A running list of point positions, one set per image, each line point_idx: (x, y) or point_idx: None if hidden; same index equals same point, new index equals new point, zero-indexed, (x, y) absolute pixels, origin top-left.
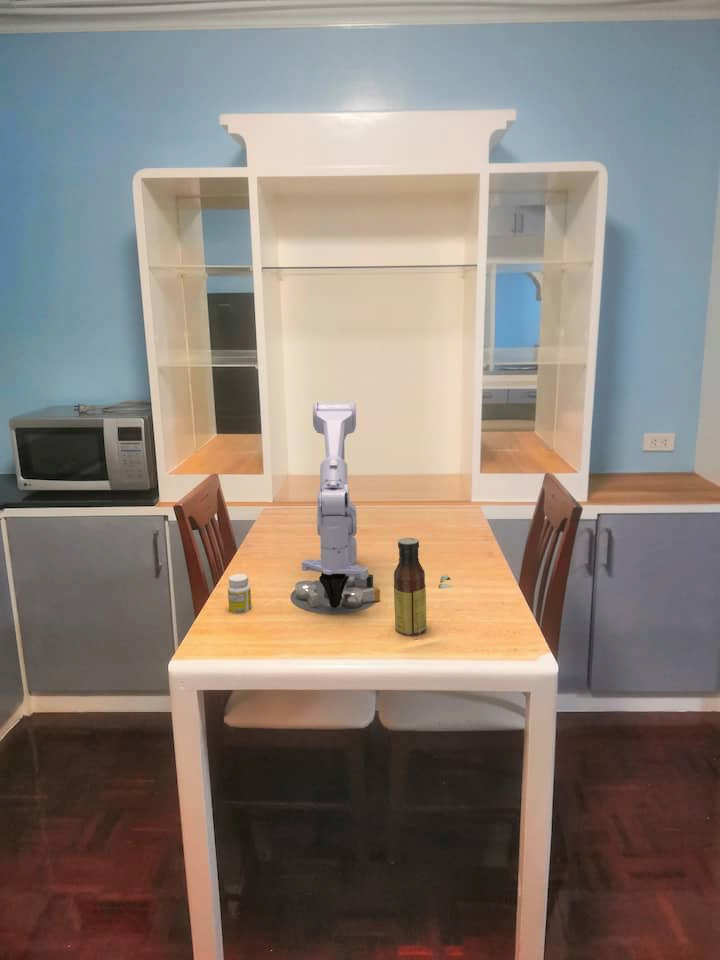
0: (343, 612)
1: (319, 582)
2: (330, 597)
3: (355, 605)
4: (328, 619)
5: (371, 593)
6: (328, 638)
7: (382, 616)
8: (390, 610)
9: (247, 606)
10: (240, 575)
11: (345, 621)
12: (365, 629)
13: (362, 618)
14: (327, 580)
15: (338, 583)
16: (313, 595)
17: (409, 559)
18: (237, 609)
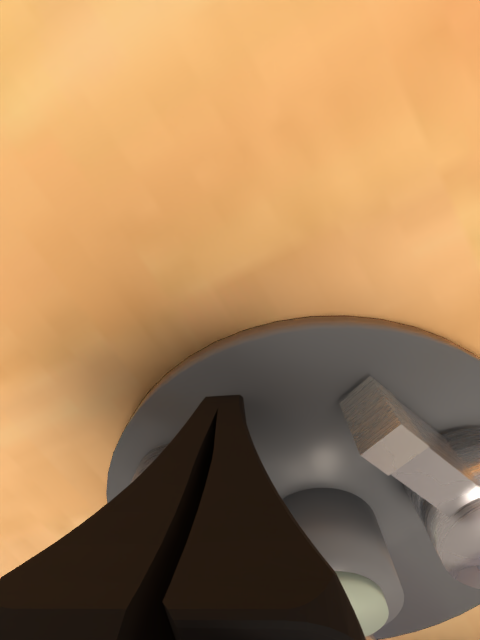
0: (173, 394)
1: (453, 597)
2: (225, 434)
3: (142, 464)
4: (238, 332)
5: None
6: (93, 112)
7: (47, 452)
8: (59, 502)
9: None
10: None
11: (149, 349)
12: (12, 316)
13: (103, 406)
14: (174, 608)
15: (16, 582)
16: (389, 437)
17: None
18: None
